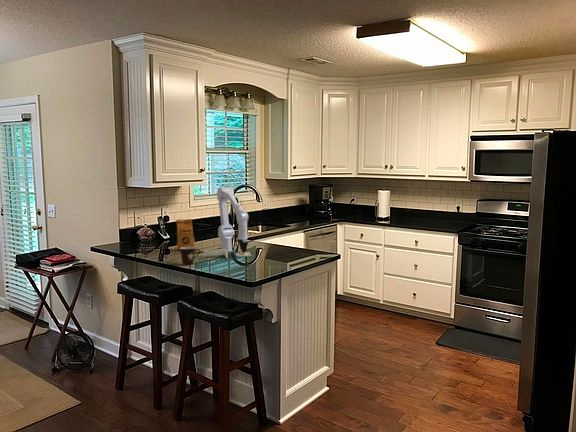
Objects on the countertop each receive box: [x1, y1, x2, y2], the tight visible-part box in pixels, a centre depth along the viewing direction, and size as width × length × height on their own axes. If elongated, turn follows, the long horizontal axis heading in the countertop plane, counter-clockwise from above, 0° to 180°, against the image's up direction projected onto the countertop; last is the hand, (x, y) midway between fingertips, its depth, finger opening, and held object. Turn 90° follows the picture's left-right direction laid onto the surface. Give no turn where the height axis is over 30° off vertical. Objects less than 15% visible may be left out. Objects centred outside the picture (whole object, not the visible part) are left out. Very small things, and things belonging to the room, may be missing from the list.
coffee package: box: [175, 218, 196, 251], centre depth 331 cm, size 10×12×22 cm
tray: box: [235, 251, 252, 258], centre depth 310 cm, size 9×9×1 cm
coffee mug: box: [179, 247, 201, 266], centre depth 284 cm, size 12×9×10 cm
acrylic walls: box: [203, 249, 229, 259], centre depth 305 cm, size 13×14×4 cm
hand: (243, 251), depth 310 cm, fingers open, 6 cm apart
